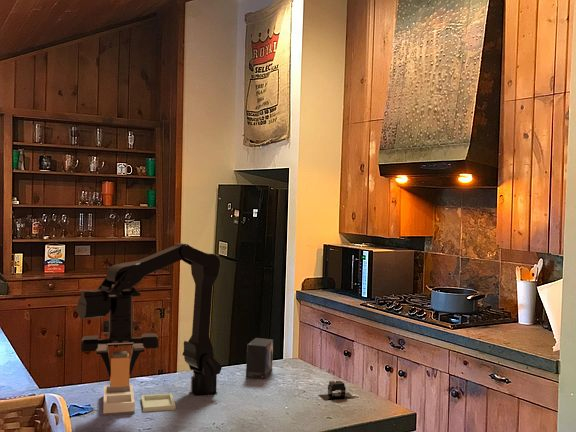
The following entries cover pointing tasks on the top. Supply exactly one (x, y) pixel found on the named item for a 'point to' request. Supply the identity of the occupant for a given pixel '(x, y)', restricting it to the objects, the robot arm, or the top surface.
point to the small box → (259, 358)
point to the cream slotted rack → (118, 400)
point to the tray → (158, 402)
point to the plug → (120, 369)
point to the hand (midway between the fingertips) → (119, 375)
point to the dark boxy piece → (336, 396)
